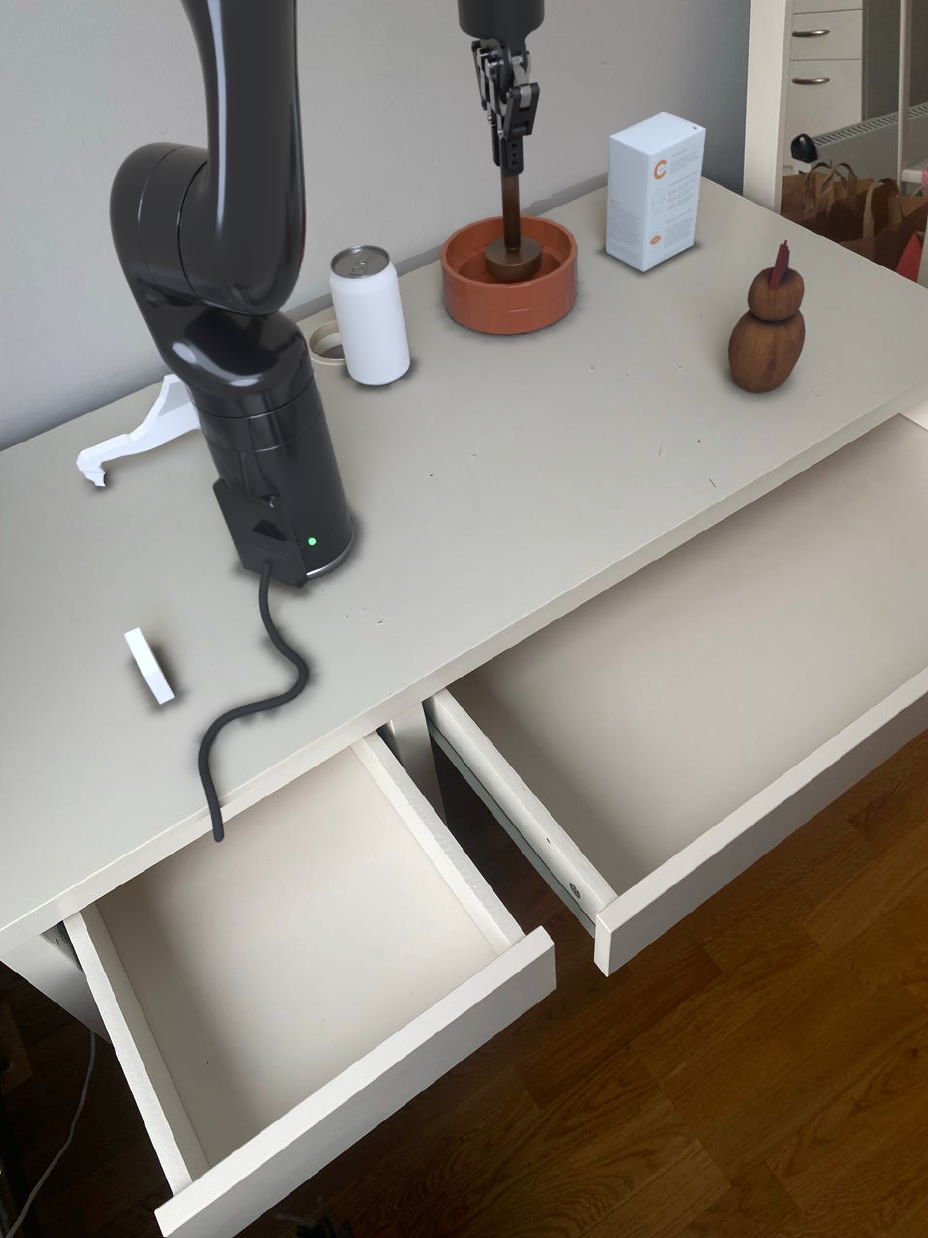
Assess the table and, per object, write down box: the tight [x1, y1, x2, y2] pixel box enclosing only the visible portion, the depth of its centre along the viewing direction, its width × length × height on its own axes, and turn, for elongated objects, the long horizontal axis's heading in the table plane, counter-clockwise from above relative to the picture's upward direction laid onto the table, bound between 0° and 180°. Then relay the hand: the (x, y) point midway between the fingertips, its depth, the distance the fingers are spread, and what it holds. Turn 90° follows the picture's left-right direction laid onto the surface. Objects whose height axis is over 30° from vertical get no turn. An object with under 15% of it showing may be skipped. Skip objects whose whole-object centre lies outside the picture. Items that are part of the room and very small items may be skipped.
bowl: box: [439, 214, 579, 335], centre depth 100 cm, size 14×14×6 cm
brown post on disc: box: [485, 170, 542, 281], centre depth 95 cm, size 6×6×15 cm
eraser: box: [123, 627, 176, 705], centre depth 72 cm, size 1×5×4 cm, turn 31°
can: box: [328, 244, 411, 387], centre depth 92 cm, size 6×6×12 cm
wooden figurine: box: [727, 239, 807, 394], centre depth 85 cm, size 7×6×15 cm
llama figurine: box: [75, 373, 201, 487], centre depth 89 cm, size 2×11×18 cm
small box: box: [605, 111, 707, 273], centre depth 102 cm, size 8×6×13 cm
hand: (508, 167), depth 93 cm, fingers closed on brown post on disc
